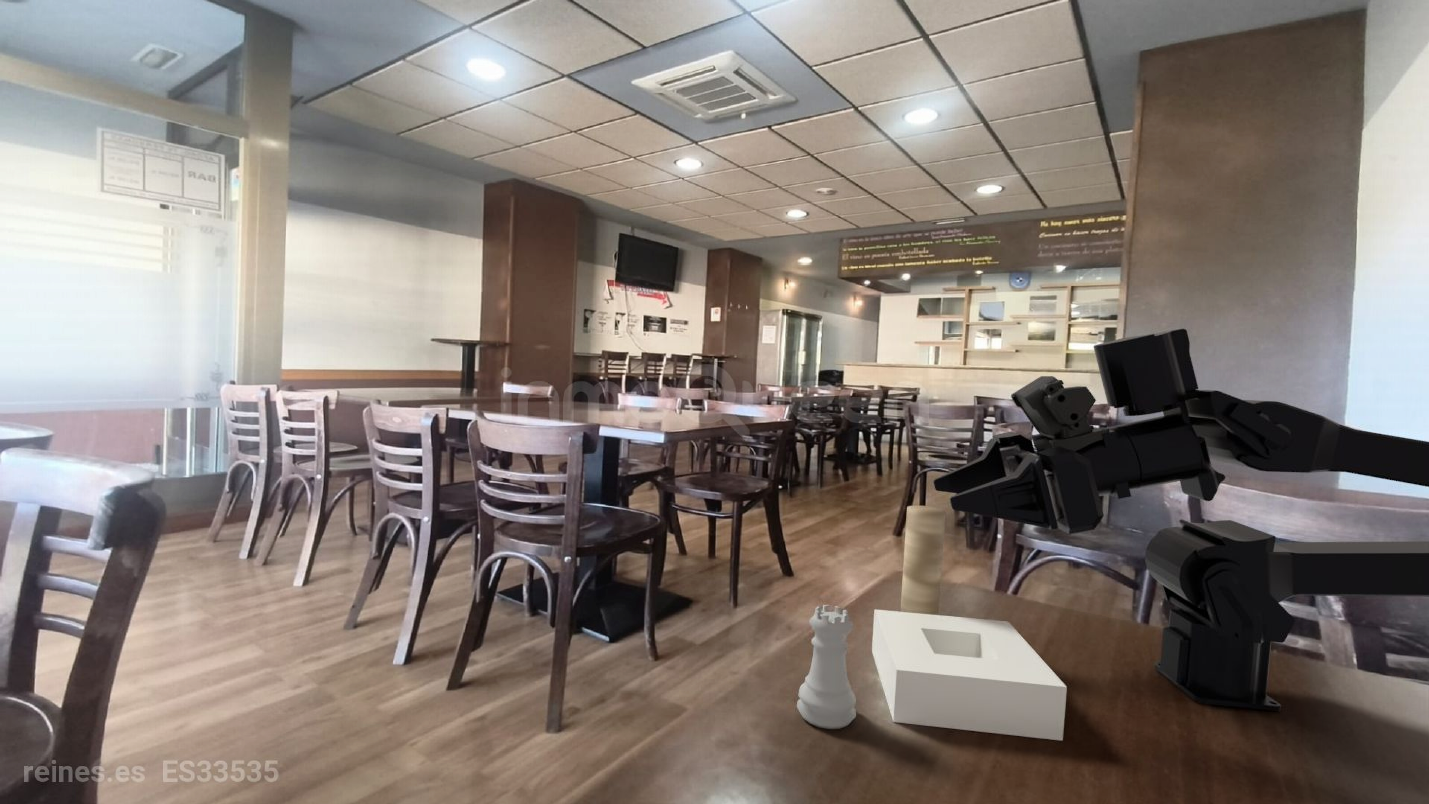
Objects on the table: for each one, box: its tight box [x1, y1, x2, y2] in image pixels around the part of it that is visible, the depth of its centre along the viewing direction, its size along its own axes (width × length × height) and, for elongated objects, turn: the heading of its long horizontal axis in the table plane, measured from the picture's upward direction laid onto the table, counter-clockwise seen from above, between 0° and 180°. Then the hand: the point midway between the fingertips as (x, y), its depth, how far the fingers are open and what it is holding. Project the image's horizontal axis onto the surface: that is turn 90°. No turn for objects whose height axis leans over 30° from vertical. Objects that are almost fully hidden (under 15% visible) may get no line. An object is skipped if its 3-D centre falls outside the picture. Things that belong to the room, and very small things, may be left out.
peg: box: [899, 505, 946, 615], centre depth 61 cm, size 4×4×13 cm
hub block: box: [871, 609, 1068, 741], centre depth 51 cm, size 12×12×4 cm
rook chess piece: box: [796, 604, 857, 730], centre depth 47 cm, size 4×4×8 cm
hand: (941, 493), depth 58 cm, fingers open, 9 cm apart
